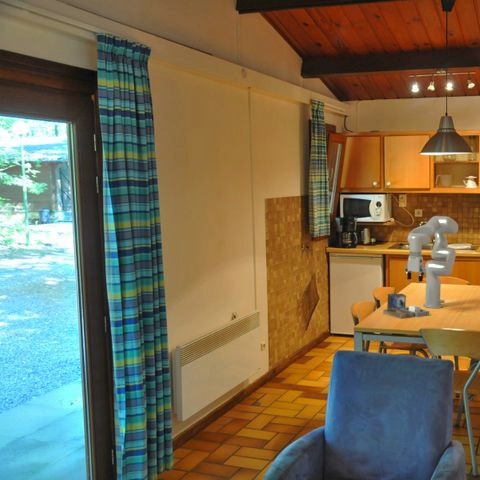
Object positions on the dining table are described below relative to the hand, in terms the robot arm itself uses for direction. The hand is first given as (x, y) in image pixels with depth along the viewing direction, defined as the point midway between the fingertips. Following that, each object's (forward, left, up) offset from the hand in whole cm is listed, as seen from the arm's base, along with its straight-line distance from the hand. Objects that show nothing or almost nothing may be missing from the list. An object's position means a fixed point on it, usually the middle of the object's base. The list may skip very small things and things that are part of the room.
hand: (414, 280), depth 454 cm
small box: (+2, -14, -22) cm, 26 cm away
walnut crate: (+14, 0, -22) cm, 26 cm away
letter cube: (+2, +2, -21) cm, 21 cm away
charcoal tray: (+2, +2, -22) cm, 22 cm away
